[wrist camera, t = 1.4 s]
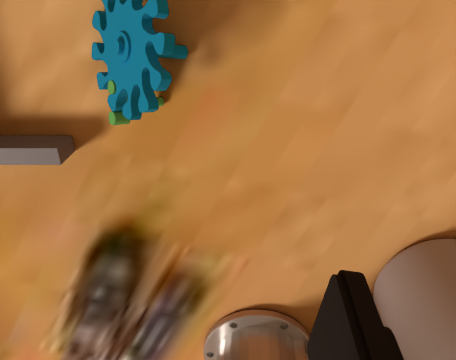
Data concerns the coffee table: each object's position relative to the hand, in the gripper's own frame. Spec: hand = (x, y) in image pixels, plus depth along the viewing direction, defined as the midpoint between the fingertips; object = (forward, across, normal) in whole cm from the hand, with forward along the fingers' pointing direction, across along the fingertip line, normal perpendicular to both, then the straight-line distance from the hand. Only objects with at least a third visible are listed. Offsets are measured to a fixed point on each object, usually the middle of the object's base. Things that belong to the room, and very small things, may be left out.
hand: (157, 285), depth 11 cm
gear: (+25, +6, -1) cm, 25 cm away
